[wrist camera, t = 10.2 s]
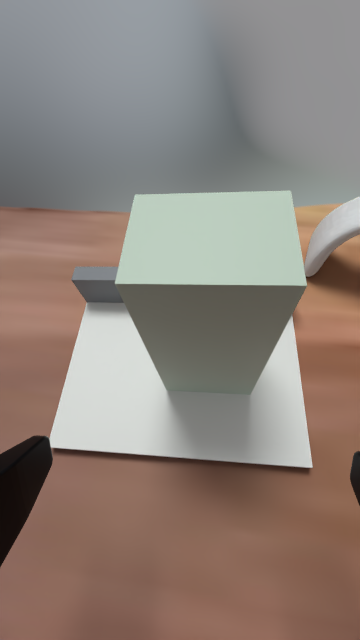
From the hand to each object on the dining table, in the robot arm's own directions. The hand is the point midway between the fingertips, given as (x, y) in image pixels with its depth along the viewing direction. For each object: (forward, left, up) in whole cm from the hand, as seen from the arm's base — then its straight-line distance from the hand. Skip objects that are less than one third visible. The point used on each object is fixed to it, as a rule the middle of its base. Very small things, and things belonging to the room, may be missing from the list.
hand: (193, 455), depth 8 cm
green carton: (+4, -5, -9) cm, 11 cm away
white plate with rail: (+6, -3, -10) cm, 12 cm away
